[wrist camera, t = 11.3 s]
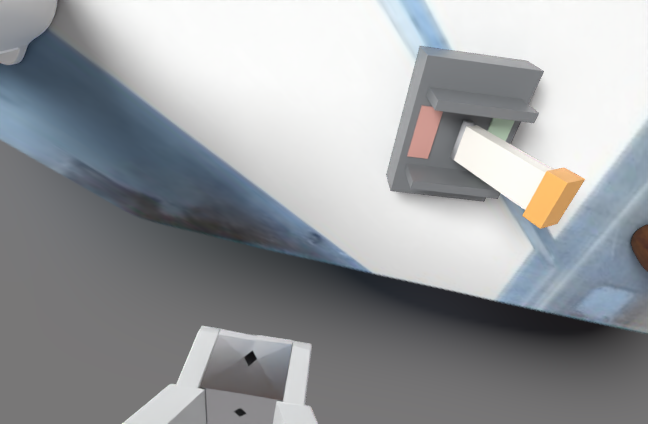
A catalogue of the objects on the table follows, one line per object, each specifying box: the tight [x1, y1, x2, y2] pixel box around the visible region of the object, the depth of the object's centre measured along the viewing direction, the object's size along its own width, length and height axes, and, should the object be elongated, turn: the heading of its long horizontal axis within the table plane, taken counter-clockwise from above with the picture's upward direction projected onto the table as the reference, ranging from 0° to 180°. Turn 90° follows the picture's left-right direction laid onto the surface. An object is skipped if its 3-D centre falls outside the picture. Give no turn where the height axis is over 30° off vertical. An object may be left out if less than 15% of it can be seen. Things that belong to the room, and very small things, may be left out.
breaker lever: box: [450, 120, 585, 229], centre depth 37 cm, size 2×5×13 cm, turn 174°
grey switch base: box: [386, 46, 544, 201], centre depth 42 cm, size 12×16×8 cm
